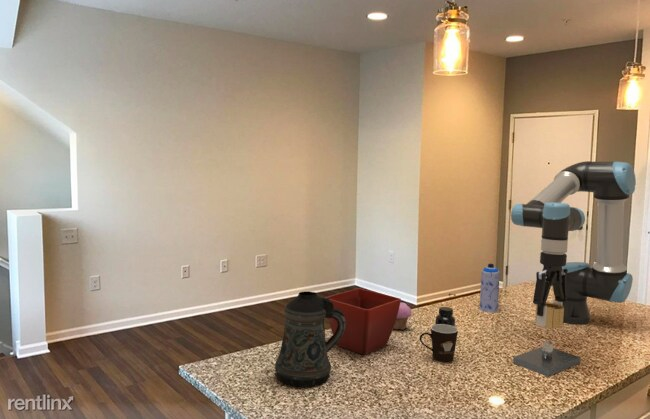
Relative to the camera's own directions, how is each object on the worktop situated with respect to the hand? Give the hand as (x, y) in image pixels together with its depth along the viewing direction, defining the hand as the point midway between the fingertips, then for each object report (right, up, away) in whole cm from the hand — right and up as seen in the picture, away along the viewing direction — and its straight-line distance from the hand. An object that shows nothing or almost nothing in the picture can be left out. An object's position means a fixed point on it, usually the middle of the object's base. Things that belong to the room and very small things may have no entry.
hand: (548, 323), depth 161 cm
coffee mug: (-34, -12, +4) cm, 36 cm away
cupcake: (-43, -9, +32) cm, 54 cm away
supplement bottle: (-28, -11, +19) cm, 36 cm away
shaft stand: (0, -13, +2) cm, 13 cm away
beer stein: (-76, -13, -10) cm, 78 cm away
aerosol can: (0, -7, +59) cm, 59 cm away
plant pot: (-58, -11, +14) cm, 61 cm away
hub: (0, 0, 0) cm, 0 cm away
